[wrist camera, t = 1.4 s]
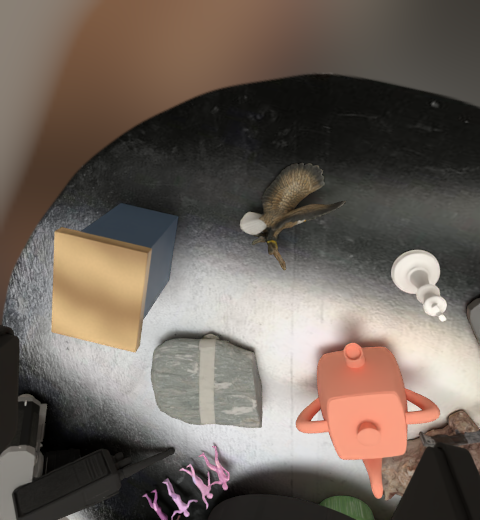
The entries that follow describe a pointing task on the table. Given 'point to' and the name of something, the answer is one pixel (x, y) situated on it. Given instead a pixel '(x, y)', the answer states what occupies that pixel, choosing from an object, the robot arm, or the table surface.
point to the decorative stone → (207, 382)
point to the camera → (28, 454)
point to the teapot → (364, 407)
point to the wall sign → (272, 509)
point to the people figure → (200, 485)
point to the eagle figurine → (286, 205)
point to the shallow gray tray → (474, 317)
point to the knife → (451, 438)
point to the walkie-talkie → (76, 485)
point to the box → (142, 240)
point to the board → (99, 288)
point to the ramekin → (349, 507)
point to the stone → (403, 466)
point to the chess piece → (420, 280)
